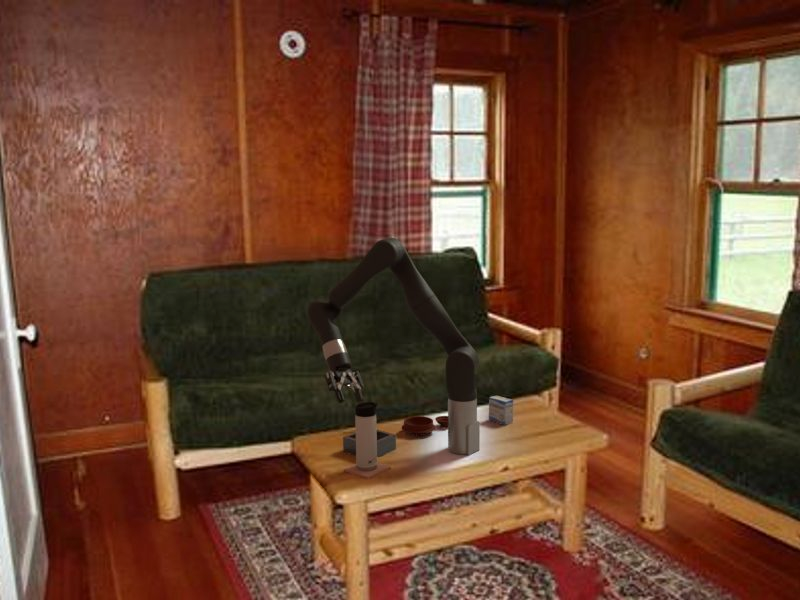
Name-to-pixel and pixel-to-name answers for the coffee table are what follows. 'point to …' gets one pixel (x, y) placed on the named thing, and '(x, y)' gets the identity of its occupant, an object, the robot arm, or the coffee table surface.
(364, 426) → the travel mug
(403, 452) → the coffee table surface
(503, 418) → the medicine box
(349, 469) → the rubber mat
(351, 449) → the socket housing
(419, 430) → the pottery
